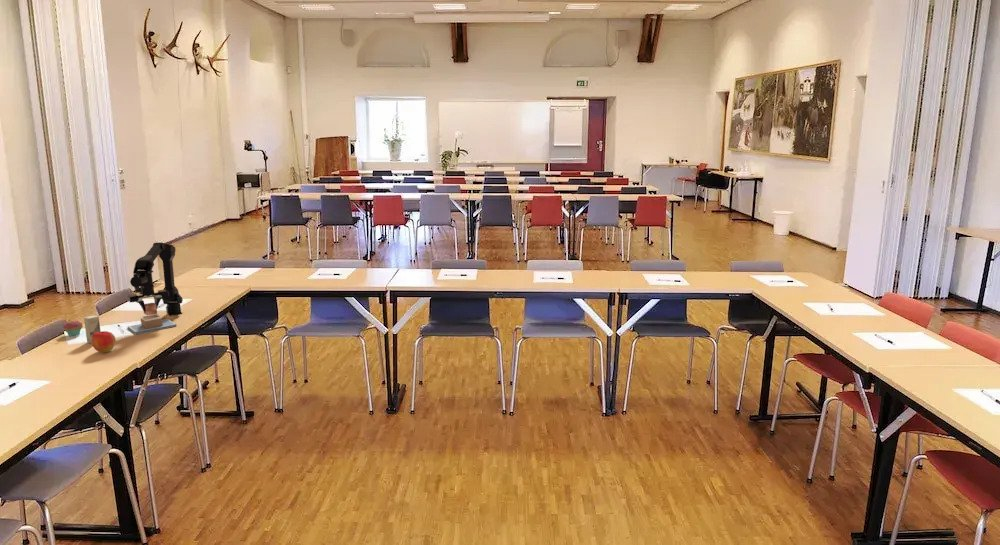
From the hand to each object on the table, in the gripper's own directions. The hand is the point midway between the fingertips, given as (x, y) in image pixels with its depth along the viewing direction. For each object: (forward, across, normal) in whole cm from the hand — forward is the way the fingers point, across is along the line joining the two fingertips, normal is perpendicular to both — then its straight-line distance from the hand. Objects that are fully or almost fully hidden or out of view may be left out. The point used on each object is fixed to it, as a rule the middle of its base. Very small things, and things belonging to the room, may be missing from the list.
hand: (150, 311), depth 347 cm
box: (+9, +28, +6) cm, 30 cm away
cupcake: (+9, +33, -14) cm, 37 cm away
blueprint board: (+9, 0, 0) cm, 9 cm away
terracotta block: (+1, 0, 0) cm, 1 cm away
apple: (+9, +28, +26) cm, 39 cm away
